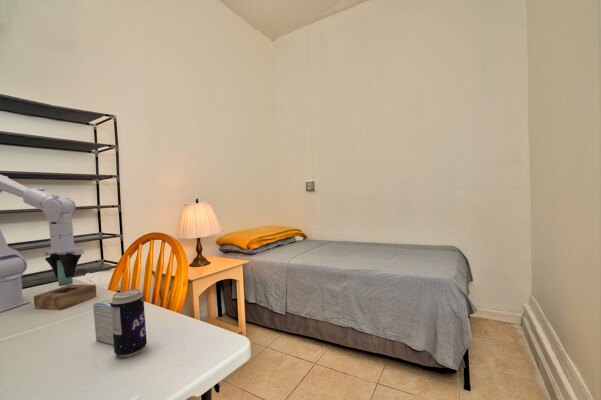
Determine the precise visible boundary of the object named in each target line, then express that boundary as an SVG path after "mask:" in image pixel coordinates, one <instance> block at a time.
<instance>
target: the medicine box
mask: <svg viewBox="0 0 601 400" xmlns="http://www.w3.org/2000/svg"><path fill="white" fill-rule="evenodd" d="M112 299H113V296H111V297H109V298H105V299H103V300H100V301H97V302H95V303H93V319H94V329H95V330H94V332H95V340H96V341H97V342H100V343H105V344H108V345H113V346H114V341H113V328H112V314H111V301H112Z"/></svg>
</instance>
